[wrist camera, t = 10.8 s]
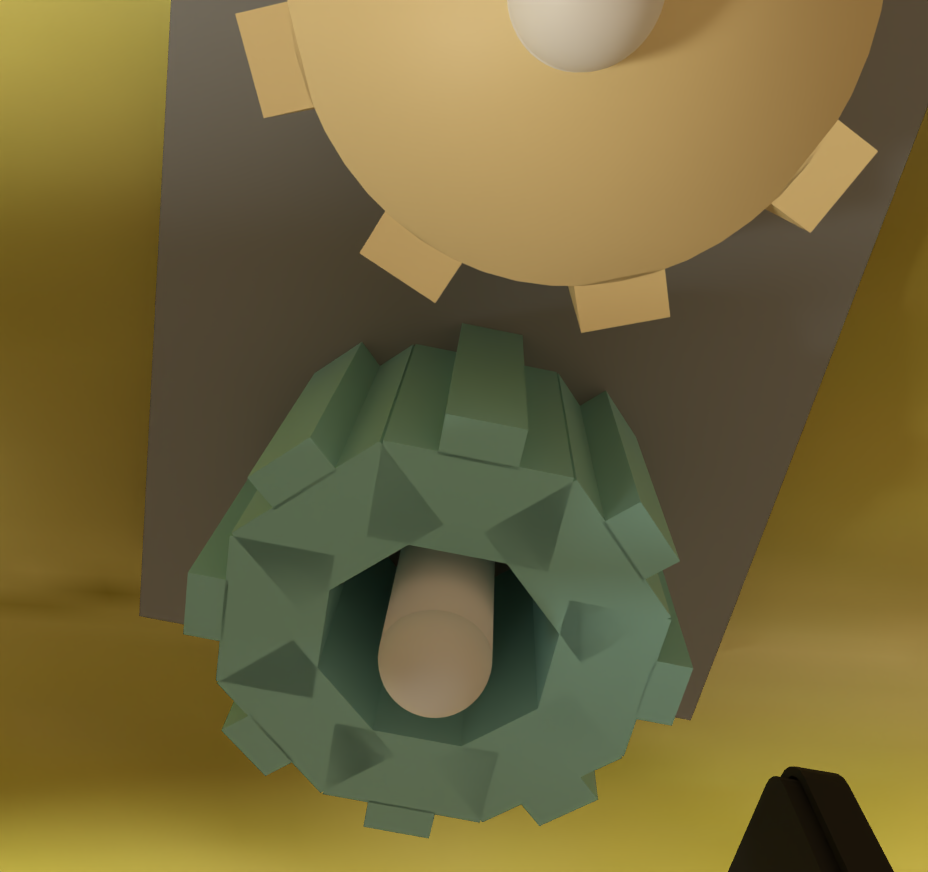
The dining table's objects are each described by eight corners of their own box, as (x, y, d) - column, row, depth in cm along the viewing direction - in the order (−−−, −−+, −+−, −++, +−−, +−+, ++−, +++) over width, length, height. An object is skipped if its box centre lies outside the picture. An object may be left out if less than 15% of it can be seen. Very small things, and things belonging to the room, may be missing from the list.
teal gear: (592, 695, 18) (616, 872, 14) (246, 630, 18) (171, 791, 14) (696, 369, 15) (764, 476, 11) (284, 287, 15) (203, 365, 11)
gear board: (673, 661, 20) (765, 984, 13) (173, 565, 20) (-16, 844, 13) (982, -188, 14) (1516, -483, 6) (236, -358, 13) (-87, -876, 6)
